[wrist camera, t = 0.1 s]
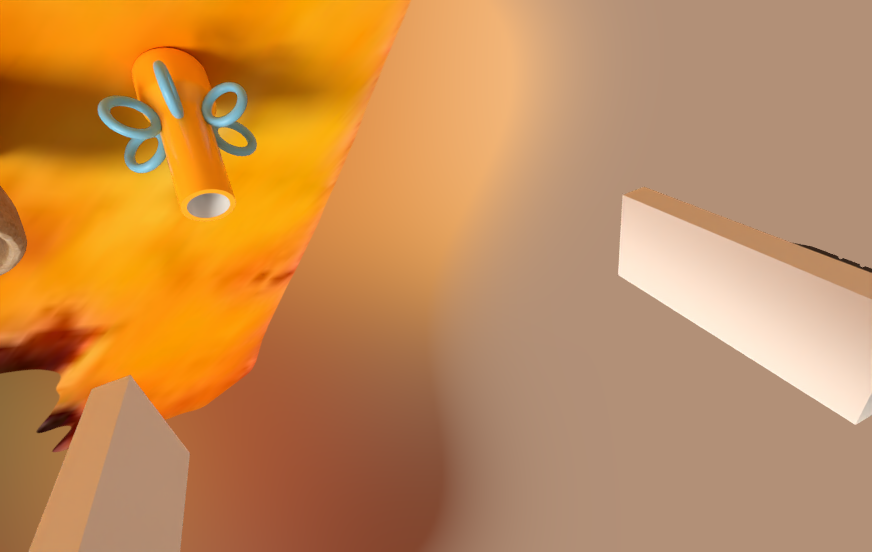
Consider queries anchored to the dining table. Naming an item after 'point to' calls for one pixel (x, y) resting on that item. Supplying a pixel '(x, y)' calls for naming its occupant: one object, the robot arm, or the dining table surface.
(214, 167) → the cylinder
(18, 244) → the brown boot
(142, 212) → the dining table surface
